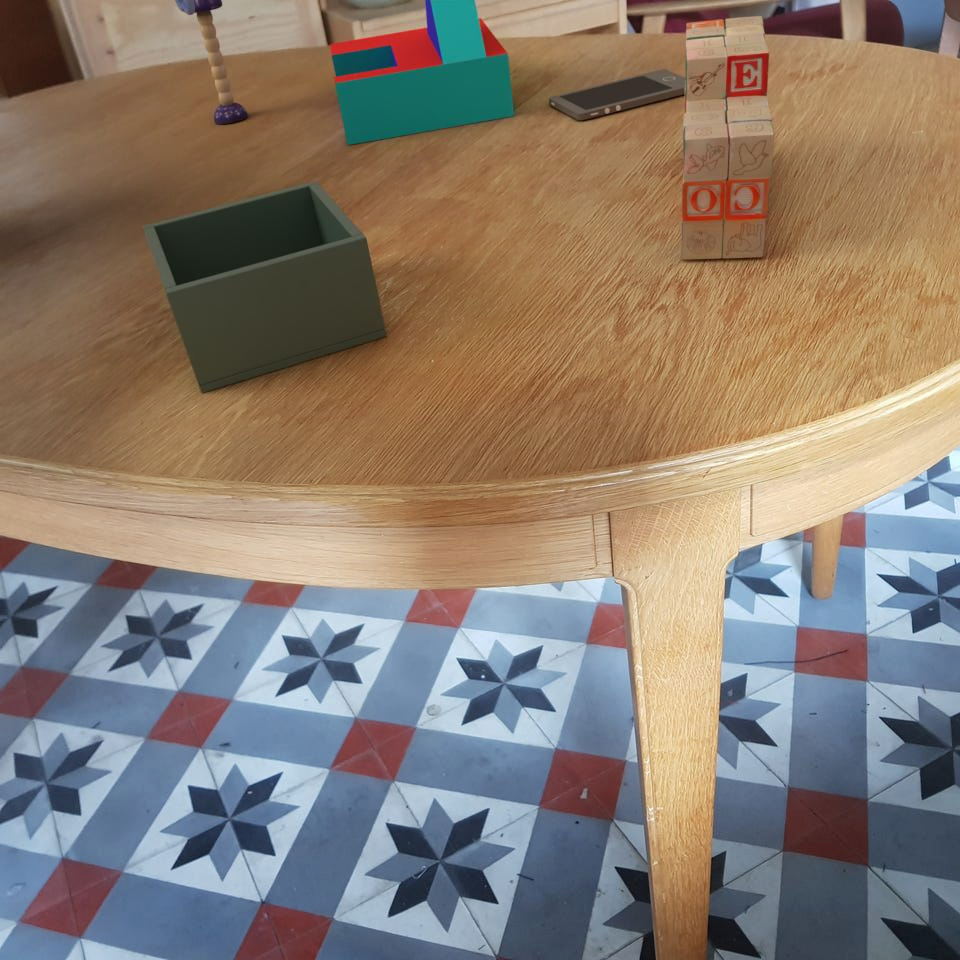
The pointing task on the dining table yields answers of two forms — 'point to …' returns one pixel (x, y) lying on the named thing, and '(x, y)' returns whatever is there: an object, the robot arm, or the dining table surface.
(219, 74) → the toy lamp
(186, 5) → the baby rattle
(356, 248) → the toy bin
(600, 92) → the smartphone
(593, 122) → the dining table surface
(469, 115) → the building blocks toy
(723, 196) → the stack of blocks
